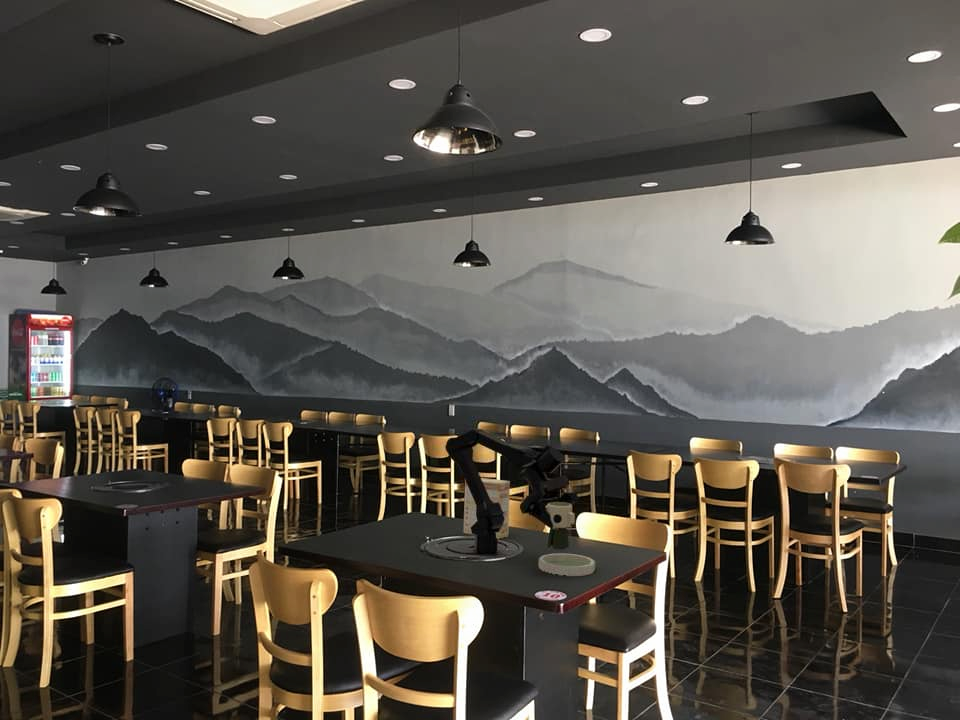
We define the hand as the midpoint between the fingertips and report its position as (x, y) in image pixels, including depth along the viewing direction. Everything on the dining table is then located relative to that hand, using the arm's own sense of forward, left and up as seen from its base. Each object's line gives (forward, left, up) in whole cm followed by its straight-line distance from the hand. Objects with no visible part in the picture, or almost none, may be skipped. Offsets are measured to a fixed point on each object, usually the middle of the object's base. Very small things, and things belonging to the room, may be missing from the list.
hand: (561, 526), depth 218 cm
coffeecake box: (-11, +51, -14) cm, 54 cm away
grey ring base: (+3, +4, -13) cm, 14 cm away
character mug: (-1, +1, -7) cm, 7 cm away
